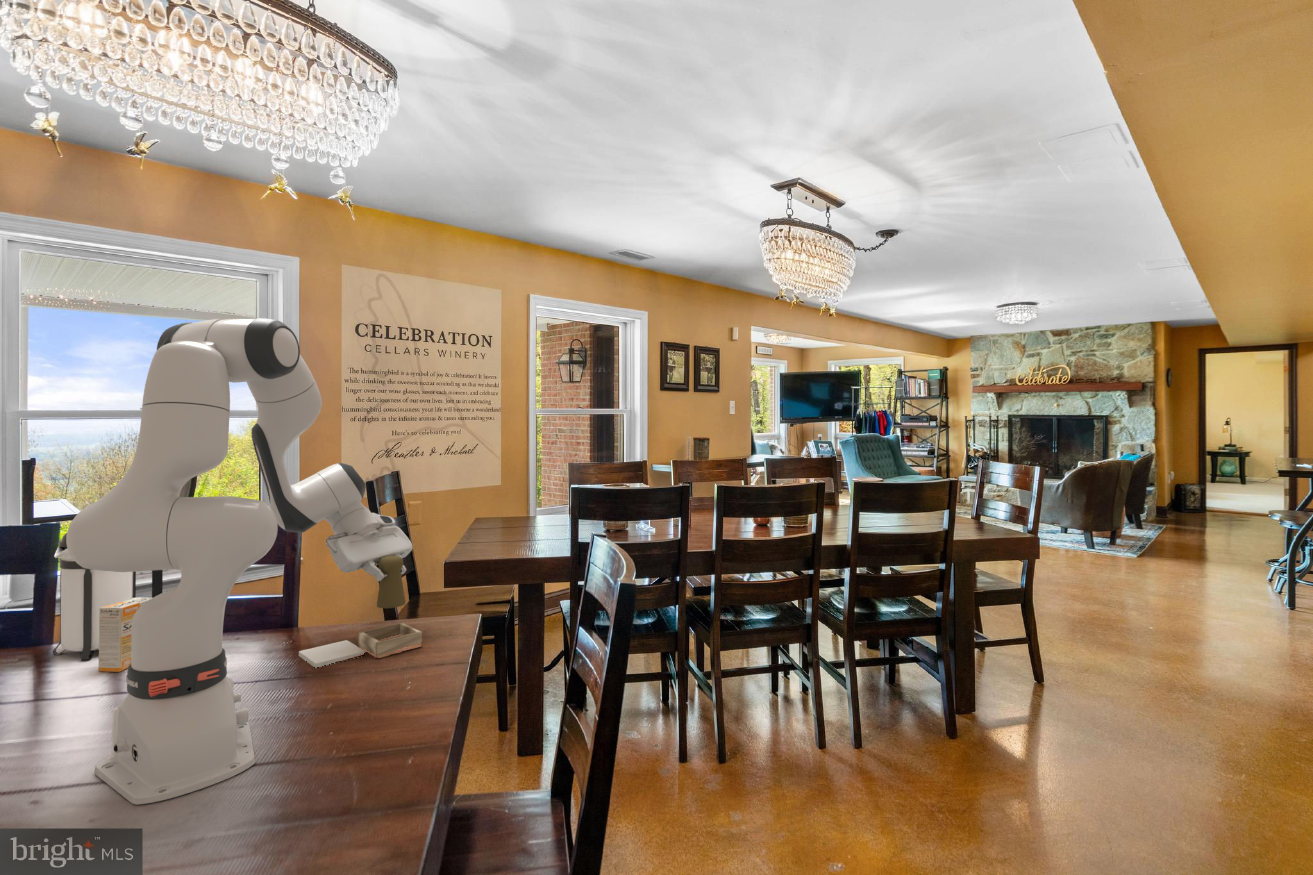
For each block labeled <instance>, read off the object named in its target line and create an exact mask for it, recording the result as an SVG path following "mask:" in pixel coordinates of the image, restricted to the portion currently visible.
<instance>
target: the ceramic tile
mask: <svg viewBox="0 0 1313 875" xmlns="http://www.w3.org/2000/svg"><path fill="white" fill-rule="evenodd" d="M364 653H365V654H366V652H365V651H364V650H363V649H361V648H359V647H358V645H356V644H354V643H352V642H351V641H349V640H347V639H345V640H342V641H341V640H340V641H337V642H332V643H328V644H325V645H323V644H322V645H319V646H316V647H312V648H308V649H302V650H299V651H298V657H299V658H301V659H302V660H303V661H305V662H306V661H307V662H306V663H308V664H309V665H310V666H312V668H314V667H315V668H314V669H318V668H317V667H319V668H323V667H325V666H324V665H326V666H330V665H332V664H331V663H334V664H336V663H335V662H336V661H342V660H345V659H348V658H352V657H354V656H358V655H360V654H364ZM342 662H343V661H342ZM329 664H330V665H329ZM322 666H323V667H322Z"/></svg>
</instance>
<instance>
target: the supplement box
mask: <svg viewBox="0 0 1313 875" xmlns="http://www.w3.org/2000/svg"><path fill="white" fill-rule="evenodd" d="M150 599H152V597H145V596H144V597H139V596H138V597H136V598H132V599H129V600H125V601H122V602H118V603H115V604H112V605H108V606H104V607H100V615H99V649H98V671H99V672H115V673H118V672H119V673H120V672H123V671H125V670H128V666H129V665H130V664H131V622H132V619H133V616H134V614H135V613H136V611H137V610H138V609H139V607H140V606H142V605H143V604H144V603H145V602H147V601H148V600H150Z"/></svg>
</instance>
